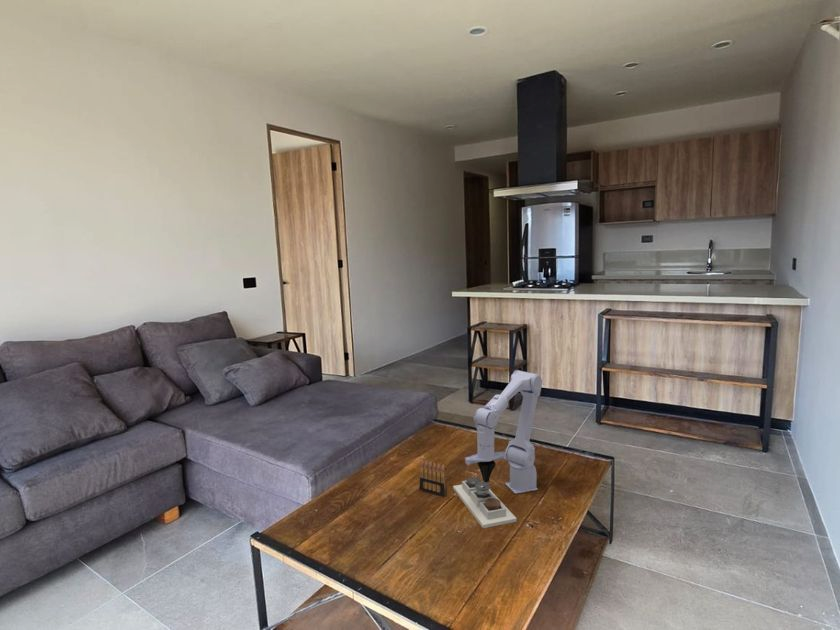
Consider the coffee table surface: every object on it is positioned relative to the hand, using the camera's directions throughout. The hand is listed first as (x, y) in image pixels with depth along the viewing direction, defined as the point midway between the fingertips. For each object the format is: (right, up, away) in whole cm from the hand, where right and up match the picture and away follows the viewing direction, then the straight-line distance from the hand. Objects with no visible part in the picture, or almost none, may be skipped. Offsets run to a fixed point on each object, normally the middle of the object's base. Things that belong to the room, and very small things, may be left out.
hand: (485, 481), depth 161 cm
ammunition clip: (-18, -9, +12) cm, 24 cm away
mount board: (-1, -9, +4) cm, 10 cm away
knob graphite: (-3, -7, +11) cm, 13 cm away
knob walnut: (+2, -9, -4) cm, 10 cm away
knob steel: (-1, -6, +3) cm, 7 cm away
